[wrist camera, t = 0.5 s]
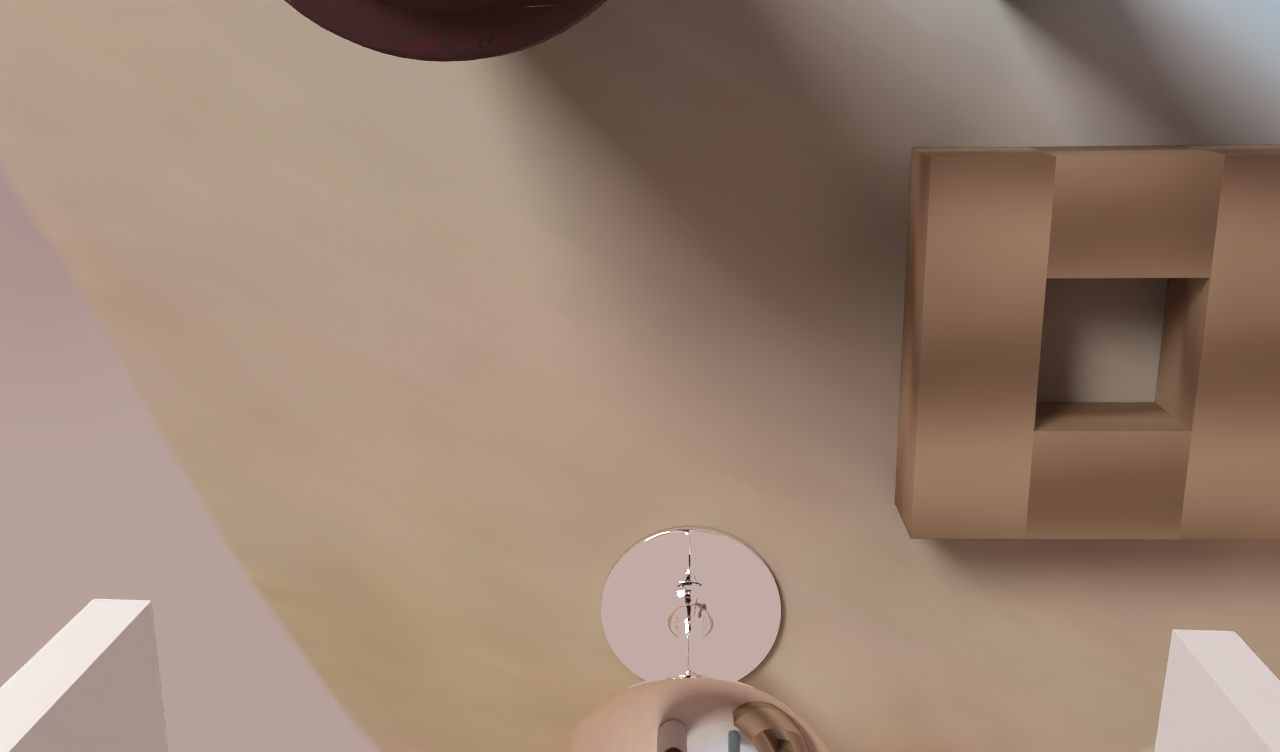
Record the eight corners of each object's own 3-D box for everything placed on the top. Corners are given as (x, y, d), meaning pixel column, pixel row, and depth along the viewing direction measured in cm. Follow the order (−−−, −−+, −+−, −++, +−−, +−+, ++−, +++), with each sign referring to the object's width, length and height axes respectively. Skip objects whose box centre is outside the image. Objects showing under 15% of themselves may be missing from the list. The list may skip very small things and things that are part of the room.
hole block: (912, 148, 38) (931, 157, 35) (1301, 144, 37) (1353, 153, 34) (895, 503, 41) (910, 538, 38) (1251, 504, 40) (1295, 540, 37)
